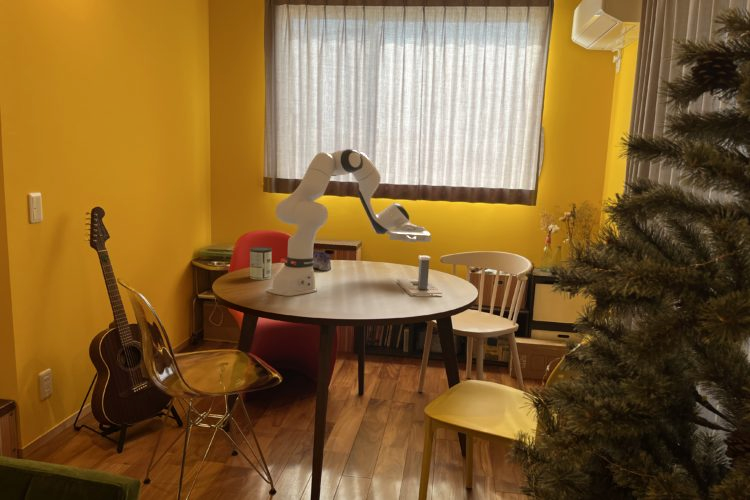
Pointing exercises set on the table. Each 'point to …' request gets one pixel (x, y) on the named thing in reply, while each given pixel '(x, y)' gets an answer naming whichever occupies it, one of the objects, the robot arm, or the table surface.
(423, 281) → the fader tab
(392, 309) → the table surface
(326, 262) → the geode
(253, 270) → the coffee can
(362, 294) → the table surface
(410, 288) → the console
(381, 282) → the table surface
